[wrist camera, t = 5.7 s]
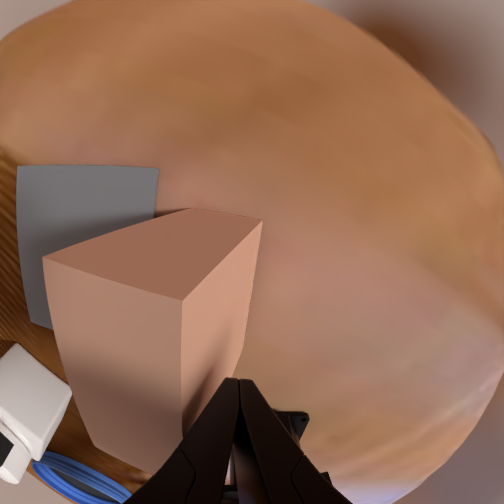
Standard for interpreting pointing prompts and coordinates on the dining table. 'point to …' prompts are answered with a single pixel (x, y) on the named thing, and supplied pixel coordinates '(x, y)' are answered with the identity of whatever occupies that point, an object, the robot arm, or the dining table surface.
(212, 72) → the dining table surface
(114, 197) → the mat
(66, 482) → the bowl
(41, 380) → the medicine bottle
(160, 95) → the dining table surface
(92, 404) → the terracotta block
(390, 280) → the dining table surface
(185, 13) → the dining table surface
